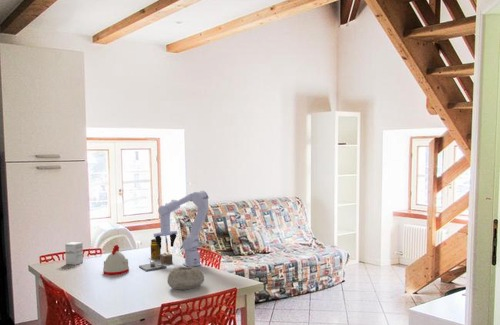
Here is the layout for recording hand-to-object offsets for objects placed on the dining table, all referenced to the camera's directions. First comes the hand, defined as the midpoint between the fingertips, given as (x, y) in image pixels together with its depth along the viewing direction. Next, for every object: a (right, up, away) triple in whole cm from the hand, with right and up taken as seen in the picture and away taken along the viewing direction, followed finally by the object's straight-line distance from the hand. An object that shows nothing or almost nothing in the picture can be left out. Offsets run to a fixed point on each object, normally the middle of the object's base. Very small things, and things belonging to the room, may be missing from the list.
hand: (166, 247), depth 271 cm
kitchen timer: (-25, -11, -18) cm, 33 cm away
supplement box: (-57, -11, +5) cm, 59 cm away
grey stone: (+20, -10, -53) cm, 57 cm away
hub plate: (-6, -10, -11) cm, 16 cm away
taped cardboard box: (0, -9, 0) cm, 9 cm away
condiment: (-8, -10, +14) cm, 19 cm away
